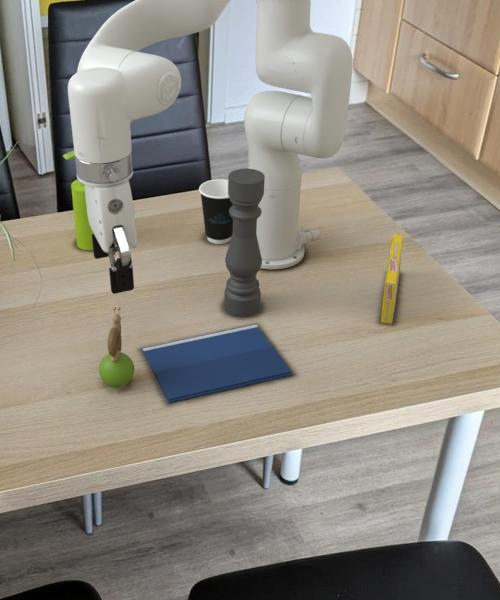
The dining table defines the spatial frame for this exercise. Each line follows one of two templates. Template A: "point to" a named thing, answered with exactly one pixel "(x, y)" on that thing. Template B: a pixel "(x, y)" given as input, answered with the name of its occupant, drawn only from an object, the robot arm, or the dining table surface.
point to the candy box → (392, 279)
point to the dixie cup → (216, 211)
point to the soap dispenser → (80, 212)
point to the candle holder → (244, 243)
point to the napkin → (214, 363)
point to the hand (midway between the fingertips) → (113, 273)
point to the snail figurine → (116, 358)
